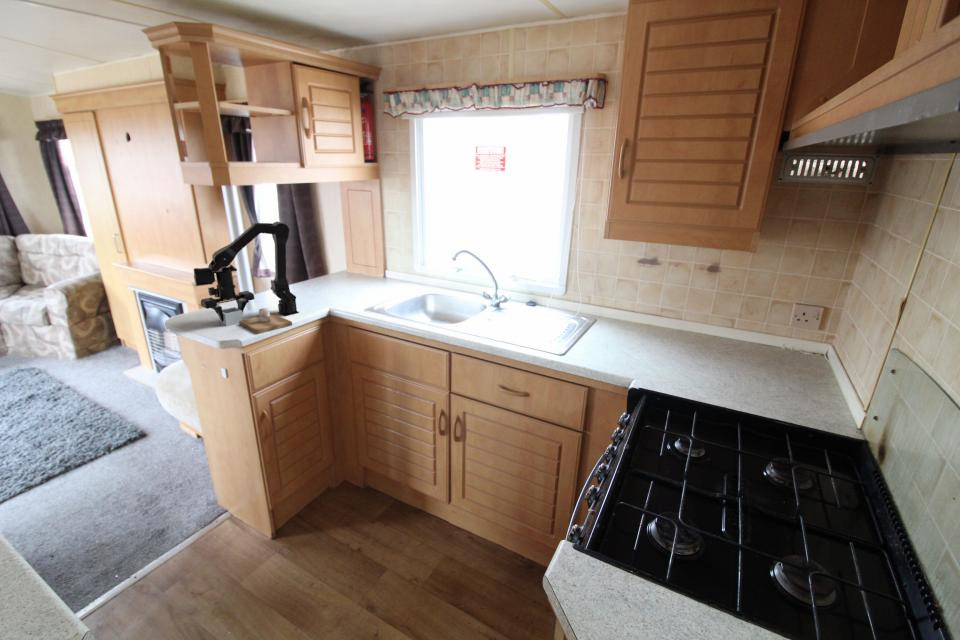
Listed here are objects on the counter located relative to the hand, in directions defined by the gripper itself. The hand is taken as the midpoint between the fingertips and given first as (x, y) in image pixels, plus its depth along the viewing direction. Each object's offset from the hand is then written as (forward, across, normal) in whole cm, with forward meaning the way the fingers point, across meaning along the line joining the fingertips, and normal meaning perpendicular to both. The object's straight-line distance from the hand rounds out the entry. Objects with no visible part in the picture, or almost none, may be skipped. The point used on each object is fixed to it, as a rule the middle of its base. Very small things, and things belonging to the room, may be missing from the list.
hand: (231, 319), depth 187 cm
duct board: (+1, -8, +13) cm, 15 cm away
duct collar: (+1, 0, 0) cm, 1 cm away
